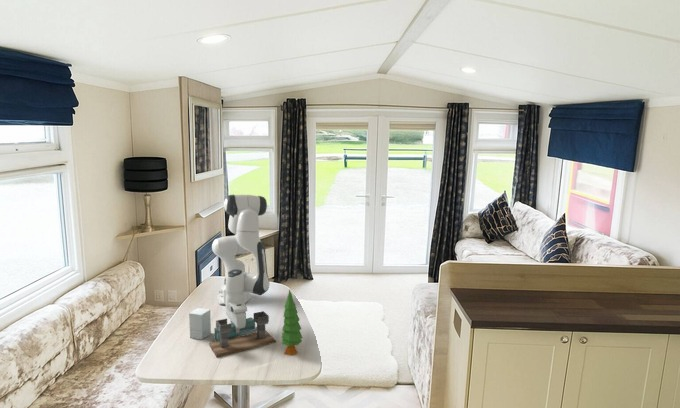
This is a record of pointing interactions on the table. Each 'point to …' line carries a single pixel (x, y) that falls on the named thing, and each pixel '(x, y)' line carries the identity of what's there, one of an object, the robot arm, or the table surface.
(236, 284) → the robot arm
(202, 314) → the supplement box
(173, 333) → the table surface
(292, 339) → the decorative tree
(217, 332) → the teal rail
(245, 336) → the bracket stand
